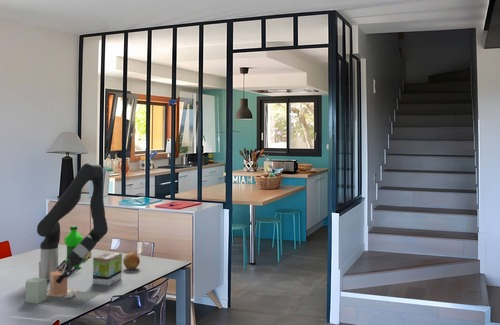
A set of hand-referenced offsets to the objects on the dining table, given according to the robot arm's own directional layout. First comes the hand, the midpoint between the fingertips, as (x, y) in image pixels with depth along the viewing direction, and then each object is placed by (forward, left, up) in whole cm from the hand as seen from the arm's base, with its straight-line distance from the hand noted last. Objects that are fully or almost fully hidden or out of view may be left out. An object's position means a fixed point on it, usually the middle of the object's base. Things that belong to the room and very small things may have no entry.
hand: (55, 280), depth 248 cm
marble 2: (+11, -1, -7) cm, 13 cm away
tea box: (+14, +27, -7) cm, 31 cm away
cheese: (-28, +69, -7) cm, 75 cm away
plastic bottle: (-20, +48, -7) cm, 53 cm away
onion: (+15, +54, -7) cm, 57 cm away
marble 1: (+11, -5, -7) cm, 14 cm away
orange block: (+1, +1, -6) cm, 7 cm away
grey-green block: (-2, -12, -7) cm, 14 cm away
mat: (+8, -5, -7) cm, 12 cm away
